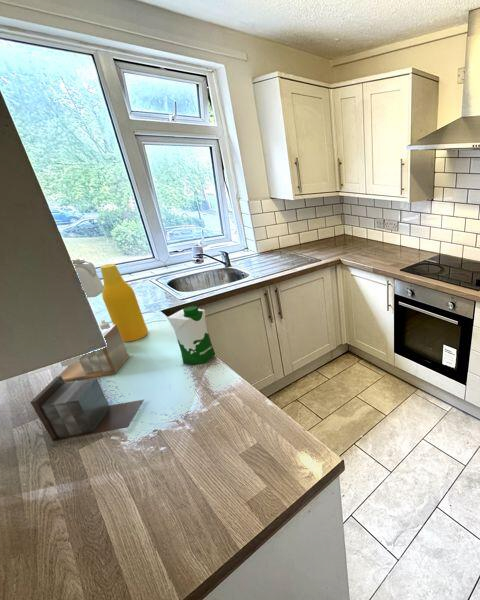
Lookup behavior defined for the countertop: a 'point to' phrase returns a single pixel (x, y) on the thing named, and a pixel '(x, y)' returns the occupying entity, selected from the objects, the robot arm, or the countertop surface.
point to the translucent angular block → (100, 359)
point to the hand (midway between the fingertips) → (59, 315)
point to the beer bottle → (122, 305)
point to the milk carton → (192, 335)
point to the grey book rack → (80, 409)
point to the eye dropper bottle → (104, 325)
